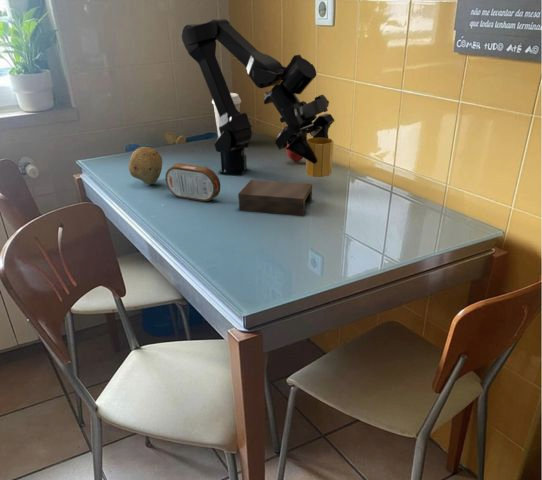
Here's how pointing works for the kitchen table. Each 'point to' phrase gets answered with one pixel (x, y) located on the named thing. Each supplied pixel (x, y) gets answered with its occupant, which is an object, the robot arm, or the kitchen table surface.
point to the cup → (320, 157)
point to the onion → (293, 156)
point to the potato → (145, 165)
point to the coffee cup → (236, 102)
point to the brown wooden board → (275, 197)
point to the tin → (193, 182)
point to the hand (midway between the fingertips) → (323, 159)
